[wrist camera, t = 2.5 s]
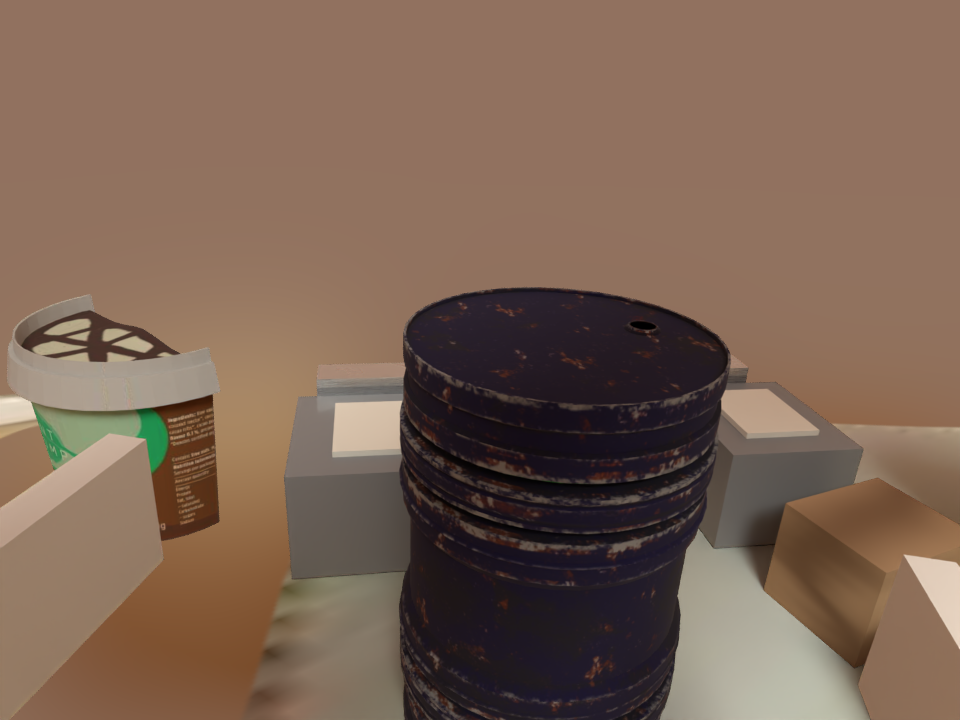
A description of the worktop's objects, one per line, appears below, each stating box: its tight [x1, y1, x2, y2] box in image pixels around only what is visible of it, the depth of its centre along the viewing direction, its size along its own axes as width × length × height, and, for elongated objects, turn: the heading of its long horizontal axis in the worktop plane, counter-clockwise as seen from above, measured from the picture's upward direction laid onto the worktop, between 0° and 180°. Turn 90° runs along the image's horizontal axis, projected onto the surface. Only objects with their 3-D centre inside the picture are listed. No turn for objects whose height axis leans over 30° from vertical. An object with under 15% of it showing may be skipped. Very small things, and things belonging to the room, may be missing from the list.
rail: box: [317, 355, 748, 396], centre depth 41 cm, size 2×25×6 cm, turn 99°
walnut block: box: [764, 478, 960, 668], centre depth 31 cm, size 5×6×5 cm
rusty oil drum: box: [399, 287, 731, 720], centre depth 24 cm, size 10×10×15 cm
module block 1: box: [284, 394, 410, 579], centre depth 35 cm, size 8×8×6 cm
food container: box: [7, 295, 220, 541], centre depth 34 cm, size 12×6×10 cm, turn 52°
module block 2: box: [699, 382, 863, 548], centre depth 39 cm, size 8×7×6 cm
